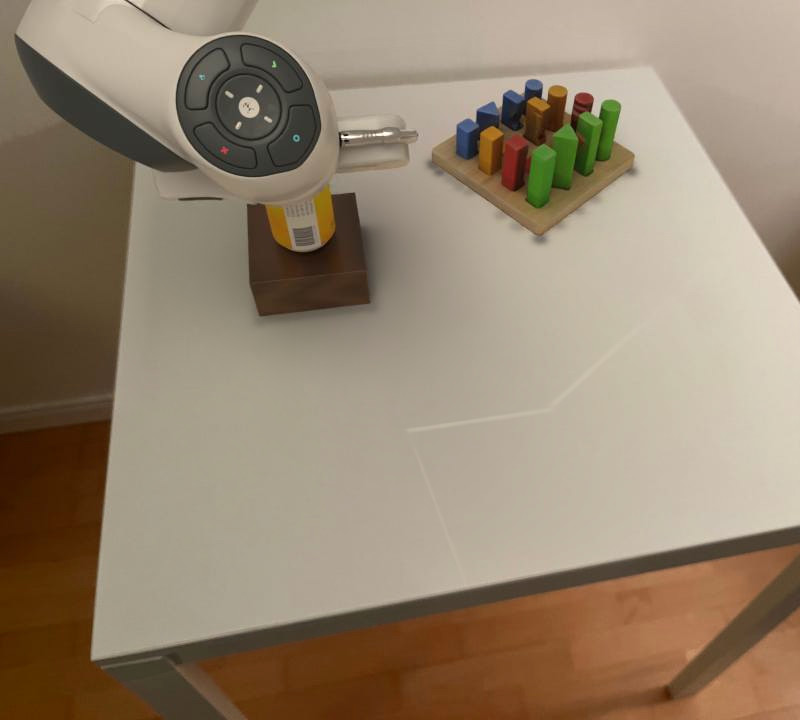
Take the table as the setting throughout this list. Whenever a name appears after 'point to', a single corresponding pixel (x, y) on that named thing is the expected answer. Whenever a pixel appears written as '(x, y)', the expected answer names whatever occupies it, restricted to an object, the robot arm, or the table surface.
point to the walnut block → (308, 265)
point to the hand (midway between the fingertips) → (290, 161)
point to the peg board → (537, 153)
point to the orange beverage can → (304, 223)
